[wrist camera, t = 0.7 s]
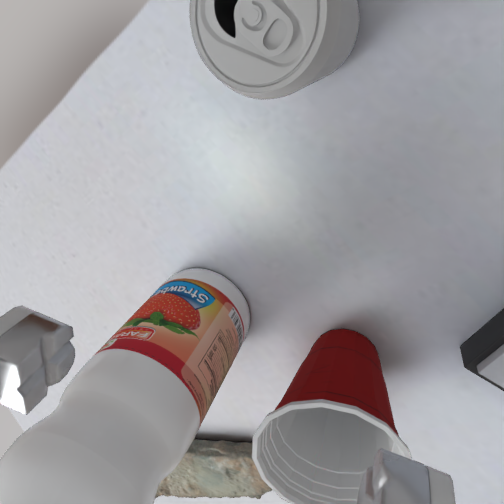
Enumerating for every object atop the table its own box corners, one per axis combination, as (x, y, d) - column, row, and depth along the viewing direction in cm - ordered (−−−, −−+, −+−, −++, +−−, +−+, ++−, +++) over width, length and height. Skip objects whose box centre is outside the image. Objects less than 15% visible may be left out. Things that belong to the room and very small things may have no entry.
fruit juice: (198, 355, 42) (-49, 746, 19) (147, 284, 40) (-208, 629, 17) (271, 331, 38) (63, 808, 14) (217, 250, 36) (-135, 658, 12)
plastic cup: (439, 358, 34) (459, 494, 23) (353, 413, 39) (339, 542, 29) (339, 279, 33) (315, 383, 23) (267, 347, 39) (222, 454, 29)
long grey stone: (298, 476, 48) (267, 413, 46) (290, 518, 44) (255, 450, 41) (92, 487, 62) (59, 438, 60) (69, 520, 58) (32, 469, 55)
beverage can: (303, -59, 24) (233, -136, 14) (383, 13, 24) (375, -9, 14) (243, 39, 27) (153, 36, 17) (315, 101, 27) (268, 134, 17)
